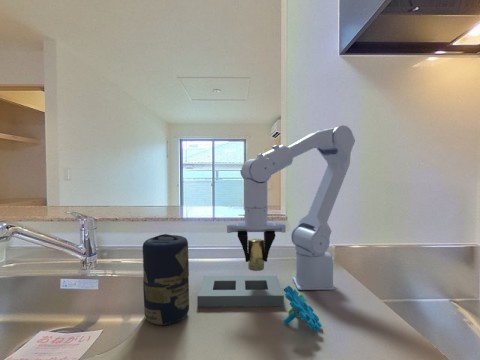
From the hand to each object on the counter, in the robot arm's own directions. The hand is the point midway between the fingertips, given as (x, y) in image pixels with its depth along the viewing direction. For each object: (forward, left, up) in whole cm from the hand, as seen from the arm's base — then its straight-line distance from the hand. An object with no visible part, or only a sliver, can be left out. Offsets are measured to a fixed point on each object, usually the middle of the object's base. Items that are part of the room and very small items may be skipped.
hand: (256, 260), depth 70 cm
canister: (+20, +10, -9) cm, 24 cm away
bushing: (0, 0, -2) cm, 2 cm away
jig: (+4, 0, -9) cm, 10 cm away
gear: (-9, +13, -9) cm, 18 cm away
